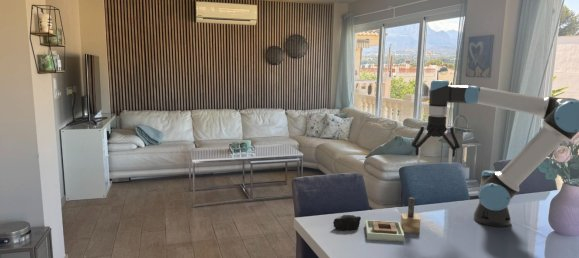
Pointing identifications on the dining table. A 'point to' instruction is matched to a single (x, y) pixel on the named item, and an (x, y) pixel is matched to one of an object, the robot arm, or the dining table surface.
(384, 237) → the tray
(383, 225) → the ring
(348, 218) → the mineral
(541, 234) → the dining table surface
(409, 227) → the block with upright handle
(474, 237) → the dining table surface
